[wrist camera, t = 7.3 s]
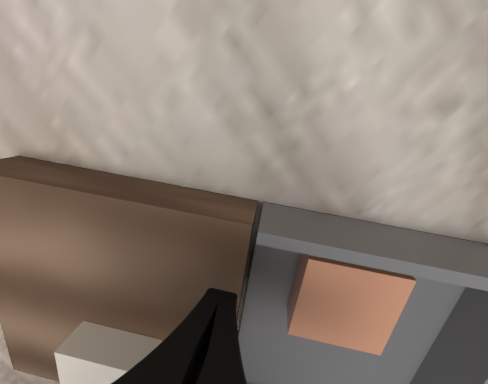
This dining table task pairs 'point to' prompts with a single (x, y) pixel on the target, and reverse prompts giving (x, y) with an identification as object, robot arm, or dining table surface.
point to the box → (409, 322)
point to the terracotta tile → (346, 303)
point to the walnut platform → (108, 254)
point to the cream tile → (100, 354)
